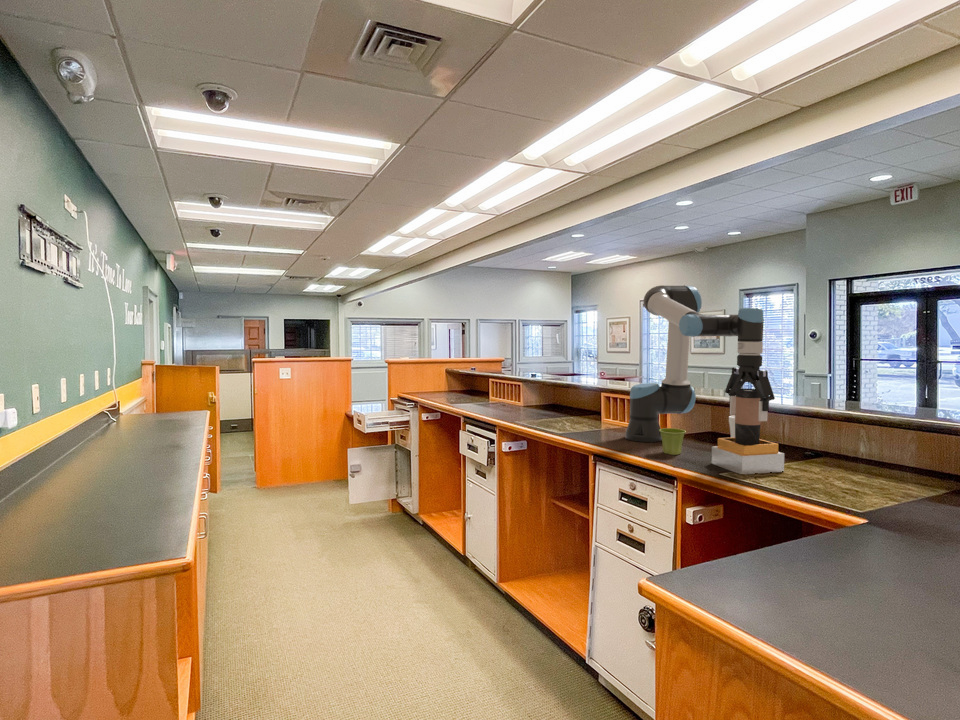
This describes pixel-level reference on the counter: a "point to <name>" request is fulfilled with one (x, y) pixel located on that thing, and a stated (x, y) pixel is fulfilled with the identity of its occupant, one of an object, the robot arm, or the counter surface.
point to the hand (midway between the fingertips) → (747, 417)
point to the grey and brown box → (747, 456)
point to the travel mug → (747, 417)
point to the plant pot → (672, 440)
